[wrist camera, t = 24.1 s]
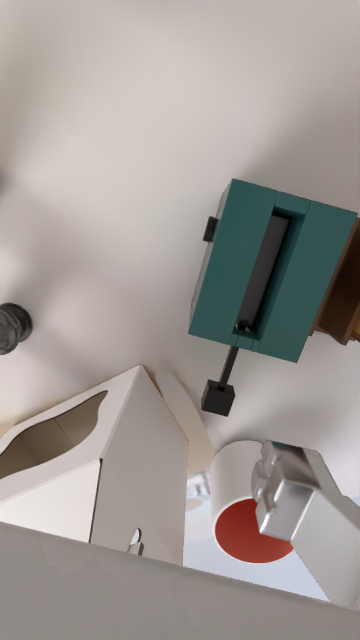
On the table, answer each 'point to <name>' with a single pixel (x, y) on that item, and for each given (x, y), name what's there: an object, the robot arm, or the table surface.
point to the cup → (240, 507)
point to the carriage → (246, 315)
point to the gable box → (101, 470)
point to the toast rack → (342, 294)
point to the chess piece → (13, 327)
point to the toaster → (286, 276)
